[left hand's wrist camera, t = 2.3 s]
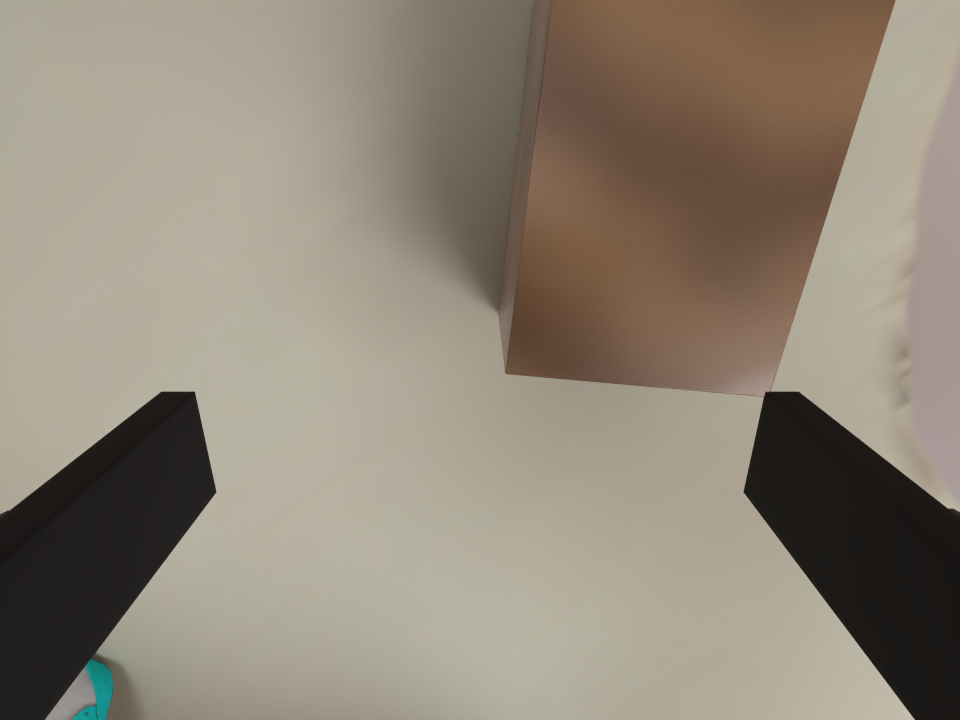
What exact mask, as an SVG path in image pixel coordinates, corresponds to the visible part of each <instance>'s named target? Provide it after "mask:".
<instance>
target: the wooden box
mask: <svg viewBox="0 0 960 720" xmlns="http://www.w3.org/2000/svg"><path fill="white" fill-rule="evenodd" d="M894 3H895V0H534V3H533V12H532V21H531V29H530V38H529V47H528V56H527V65H526V74H525V83H524V91H523V100H522V109H521V118H520V127H519V136H518V145H517V154H516V162H515V171H514V180H513V189H512V198H511V207H510V216H509V225H508V233H507V242H506V251H505V260H504V269H503V278H502V287H501V295H500V304H499V313H498V314H499V323H500V331H501V340H502V349H503V357H504V366H505V373H506V374H512V375H523V376H535V377H546V378H557V379H569V380H580V381H591V382H603V383H614V384H625V385H637V386H648V387H659V388H671V389H682V390H694V391H705V392H716V393H728V394H739V395H750V396H762V397H764V395H765V392H770V391H771V388H772V385H773V382H774V379H775V375H776V372H777V369H778V366H779V363H780V360H781V357H782V354H783V350H784V347H785V344H786V341H787V338H788V335H789V332H790V328H791V325H792V322H793V319H794V316H795V313H796V310H797V307H798V303H799V300H800V297H801V294H802V291H803V288H804V285H805V282H806V278H807V275H808V272H809V269H810V266H811V263H812V260H813V257H814V253H815V250H816V247H817V244H818V241H819V238H820V235H821V232H822V228H823V225H824V222H825V219H826V216H827V213H828V210H829V207H830V203H831V200H832V197H833V194H834V191H835V188H836V185H837V182H838V178H839V175H840V172H841V169H842V166H843V163H844V160H845V157H846V153H847V150H848V147H849V144H850V141H851V138H852V135H853V132H854V128H855V125H856V122H857V119H858V116H859V113H860V110H861V107H862V103H863V100H864V97H865V94H866V91H867V88H868V85H869V82H870V78H871V75H872V72H873V69H874V66H875V63H876V60H877V57H878V53H879V50H880V47H881V44H882V41H883V38H884V35H885V32H886V28H887V25H888V22H889V19H890V16H891V13H892V10H893V7H894Z"/></svg>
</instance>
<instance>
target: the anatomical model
mask: <svg viewBox="0 0 960 720" xmlns="http://www.w3.org/2000/svg"><path fill="white" fill-rule="evenodd" d="M112 693H113V680H112V675H111V672H110V670H109V669H108V668H107V667H106V666H105V665H104V664H102V663H99V662H97V661H95V660H93V659H90V661H89V662H88V663H87V665H86V666H85V667H84V669H83V670H82V671H81V673H80V674H79V675H78V677H77V678H76V679H75V681H74V682H73V683H72V685H71V686H70V687H69V688H68V690H67V691H66V692H65V694H64V695H63V696H62V698H61V699H60V700H59V702H58V703H57V704H56V706H55V707H54V708H53V710H52V711H51V712H50V714H49V715H48V716H47V718H46V719H45V720H106V716H107V712H108V708H109V704H110V700H111V697H112Z"/></svg>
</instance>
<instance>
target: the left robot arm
mask: <svg viewBox="0 0 960 720" xmlns="http://www.w3.org/2000/svg"><path fill="white" fill-rule="evenodd" d="M215 493H216V488H215V483H214V479H213V474H212V469H211V465H210V460H209V456H208V451H207V446H206V442H205V437H204V432H203V428H202V423H201V419H200V414H199V409H198V405H197V400H196V395H195V392H160V393H159V394H158V395H157V396H155V397H154V398H153V399H152V400H150V401H149V402H148V403H146V404H145V405H144V406H143V407H141V408H140V409H139V410H137V411H136V412H135V413H134V414H132V415H131V416H130V417H129V418H127V419H126V420H125V421H123V422H122V423H121V424H120V425H118V426H117V427H116V428H115V429H113V430H112V431H111V432H109V433H108V434H107V435H106V436H104V437H103V438H102V439H100V440H99V441H98V442H97V443H95V444H94V445H93V446H92V447H90V448H89V449H88V450H86V451H85V452H84V453H83V454H81V455H80V456H79V457H78V458H76V459H75V460H74V461H72V462H71V463H70V464H69V465H67V466H66V467H65V468H63V469H62V470H61V471H60V472H58V473H57V474H56V475H55V476H53V477H52V478H51V479H49V480H48V481H47V482H46V483H44V484H43V485H42V486H41V487H39V488H38V489H37V490H35V491H34V492H33V493H32V494H30V495H29V496H28V497H26V498H25V499H24V500H23V501H21V502H20V503H19V504H18V505H16V506H15V507H14V508H12V509H11V510H10V511H6V512H4V513H2V514H0V720H45V719H46V718H47V716H48V715H49V714H50V712H51V711H52V710H53V708H54V707H55V706H56V704H57V703H58V702H59V700H60V699H61V698H62V696H63V695H64V694H65V692H66V691H67V690H68V688H69V687H70V686H71V685H72V683H73V682H74V681H75V679H76V678H77V677H78V675H79V674H80V673H81V671H82V670H83V669H84V667H85V666H86V665H87V663H88V662H89V661H90V659H91V658H92V657H93V655H94V654H95V653H96V651H97V650H98V649H99V647H100V646H101V645H102V643H103V642H104V641H105V639H106V638H107V637H108V635H109V634H110V633H111V631H112V630H113V629H114V627H115V626H116V625H117V623H118V622H119V621H120V619H121V618H122V617H123V615H124V614H125V613H126V611H127V610H128V609H129V607H130V606H131V605H132V604H133V602H134V601H135V600H136V598H137V597H138V596H139V594H140V593H141V592H142V590H143V589H144V588H145V586H146V585H147V584H148V582H149V581H150V580H151V578H152V577H153V576H154V574H155V573H156V572H157V570H158V569H159V568H160V566H161V565H162V564H163V562H164V561H165V560H166V558H167V557H168V556H169V554H170V553H171V552H172V550H173V549H174V548H175V546H176V545H177V544H178V542H179V541H180V540H181V538H182V537H183V536H184V534H185V533H186V532H187V530H188V529H189V528H190V526H191V525H192V524H193V523H194V521H195V520H196V519H197V517H198V516H199V515H200V513H201V512H202V511H203V509H204V508H205V507H206V505H207V504H208V503H209V501H210V500H211V499H212V497H213V496H214V495H215ZM744 493H745V495H746V496H747V497H748V499H749V500H750V501H751V503H752V504H753V505H754V507H755V508H756V509H757V511H758V512H759V513H760V515H761V516H762V517H763V519H764V520H765V521H766V523H767V524H768V525H769V526H770V528H771V529H772V530H773V532H774V533H775V534H776V536H777V537H778V538H779V540H780V541H781V542H782V544H783V545H784V546H785V548H786V549H787V550H788V552H789V553H790V554H791V556H792V557H793V558H794V560H795V561H796V562H797V564H798V565H799V566H800V568H801V569H802V570H803V572H804V573H805V574H806V576H807V577H808V578H809V580H810V581H811V582H812V584H813V585H814V586H815V588H816V589H817V590H818V592H819V593H820V594H821V596H822V597H823V598H824V600H825V601H826V602H827V604H828V605H829V606H830V607H831V609H832V610H833V611H834V613H835V614H836V615H837V617H838V618H839V619H840V621H841V622H842V623H843V625H844V626H845V627H846V629H847V630H848V631H849V633H850V634H851V635H852V637H853V638H854V639H855V641H856V642H857V643H858V645H859V646H860V647H861V649H862V650H863V651H864V653H865V654H866V655H867V657H868V658H869V659H870V661H871V662H872V663H873V665H874V666H875V667H876V669H877V670H878V671H879V673H880V674H881V675H882V677H883V678H884V679H885V681H886V682H887V683H888V685H889V686H890V687H891V688H892V690H893V691H894V692H895V694H896V695H897V696H898V698H899V699H900V700H901V702H902V703H903V704H904V706H905V707H906V708H907V710H908V711H909V712H910V714H911V715H912V716H913V718H914V719H915V720H960V512H958V511H957V510H955V509H948V508H946V507H945V506H944V505H942V504H941V503H940V502H939V501H937V500H936V499H935V498H934V497H932V496H931V495H930V494H928V493H927V492H926V491H925V490H923V489H922V488H921V487H919V486H918V485H917V484H916V483H914V482H913V481H912V480H911V479H909V478H908V477H907V476H905V475H904V474H903V473H902V472H900V471H899V470H898V469H897V468H895V467H894V466H893V465H891V464H890V463H889V462H888V461H886V460H885V459H884V458H882V457H881V456H880V455H879V454H877V453H876V452H875V451H874V450H872V449H871V448H870V447H868V446H867V445H866V444H865V443H863V442H862V441H861V440H860V439H858V438H857V437H856V436H854V435H853V434H852V433H851V432H849V431H848V430H847V429H845V428H844V427H843V426H842V425H840V424H839V423H838V422H837V421H835V420H834V419H833V418H831V417H830V416H829V415H828V414H826V413H825V412H824V411H823V410H821V409H820V408H819V407H817V406H816V405H815V404H814V403H812V402H811V401H810V400H808V399H807V398H806V397H805V396H803V395H802V394H801V393H800V392H765V395H764V400H763V405H762V409H761V414H760V419H759V423H758V428H757V432H756V437H755V442H754V446H753V451H752V456H751V460H750V465H749V469H748V474H747V479H746V483H745V488H744Z"/></svg>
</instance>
